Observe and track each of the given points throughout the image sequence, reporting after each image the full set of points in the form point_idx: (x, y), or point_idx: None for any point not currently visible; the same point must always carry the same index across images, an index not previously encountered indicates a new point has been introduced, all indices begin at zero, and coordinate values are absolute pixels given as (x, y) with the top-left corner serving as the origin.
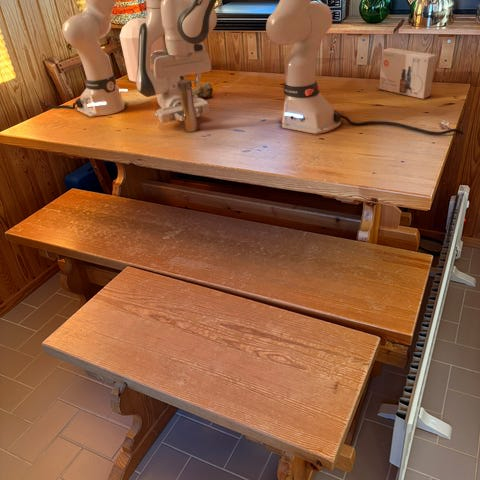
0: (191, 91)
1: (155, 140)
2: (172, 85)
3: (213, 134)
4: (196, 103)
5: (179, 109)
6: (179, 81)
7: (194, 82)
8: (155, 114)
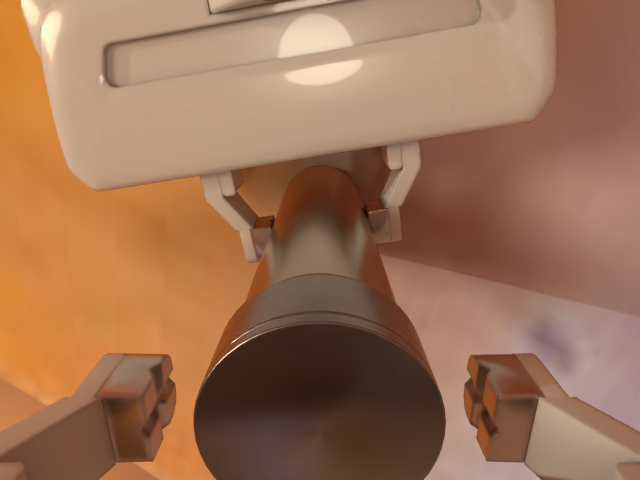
0: None
1: (88, 259)
2: (109, 464)
3: (415, 329)
4: (444, 55)
5: (253, 146)
6: (239, 397)
7: (484, 403)
8: (35, 48)
